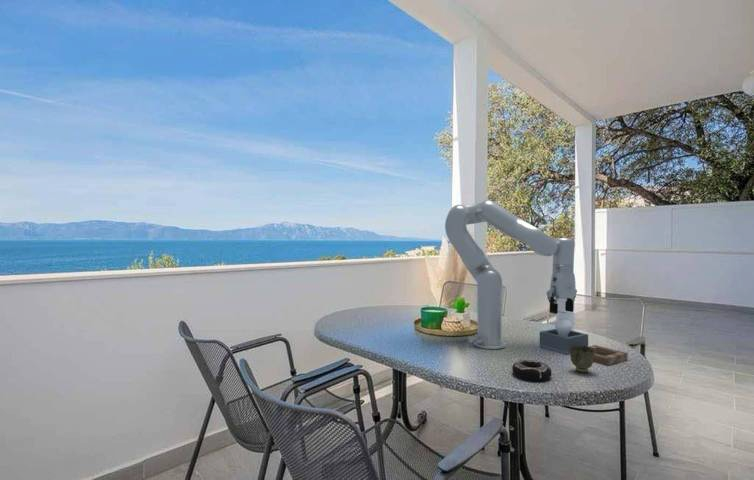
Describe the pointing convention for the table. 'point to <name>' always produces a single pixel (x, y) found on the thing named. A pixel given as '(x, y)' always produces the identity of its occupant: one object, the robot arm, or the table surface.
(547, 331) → the grey open box
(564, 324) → the lightbulb
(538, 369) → the donut
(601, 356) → the socket block
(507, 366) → the table surface
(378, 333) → the table surface
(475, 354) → the table surface
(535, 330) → the table surface
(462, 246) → the robot arm
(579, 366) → the cup
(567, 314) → the cylindrical container
